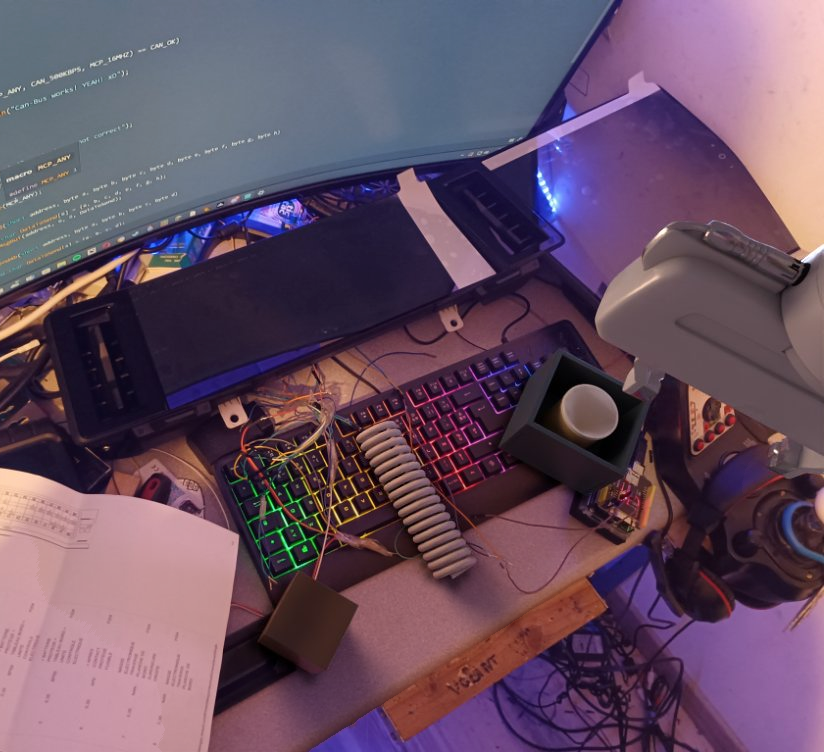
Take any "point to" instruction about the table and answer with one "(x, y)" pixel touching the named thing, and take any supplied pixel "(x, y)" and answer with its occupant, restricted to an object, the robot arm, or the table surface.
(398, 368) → the table surface
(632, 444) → the waste bin
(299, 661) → the block
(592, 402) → the paper cup
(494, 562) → the table surface
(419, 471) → the coil
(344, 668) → the table surface
